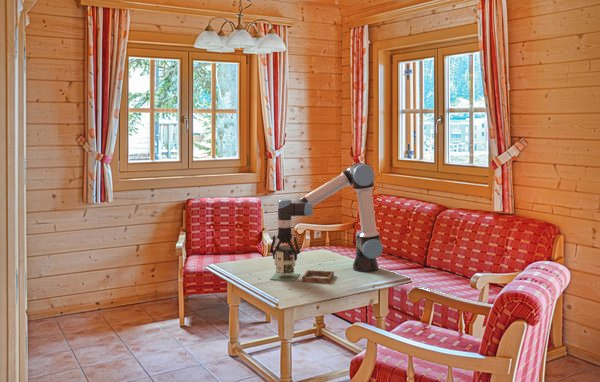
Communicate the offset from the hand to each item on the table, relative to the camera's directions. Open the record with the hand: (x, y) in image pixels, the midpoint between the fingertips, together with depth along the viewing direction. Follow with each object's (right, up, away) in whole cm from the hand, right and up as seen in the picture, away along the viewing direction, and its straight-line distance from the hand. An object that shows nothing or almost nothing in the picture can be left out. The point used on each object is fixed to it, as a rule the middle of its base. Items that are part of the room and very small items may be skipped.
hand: (284, 265), depth 334 cm
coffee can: (0, -4, +1) cm, 4 cm away
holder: (+19, -7, -2) cm, 20 cm away
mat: (0, -7, +1) cm, 7 cm away
